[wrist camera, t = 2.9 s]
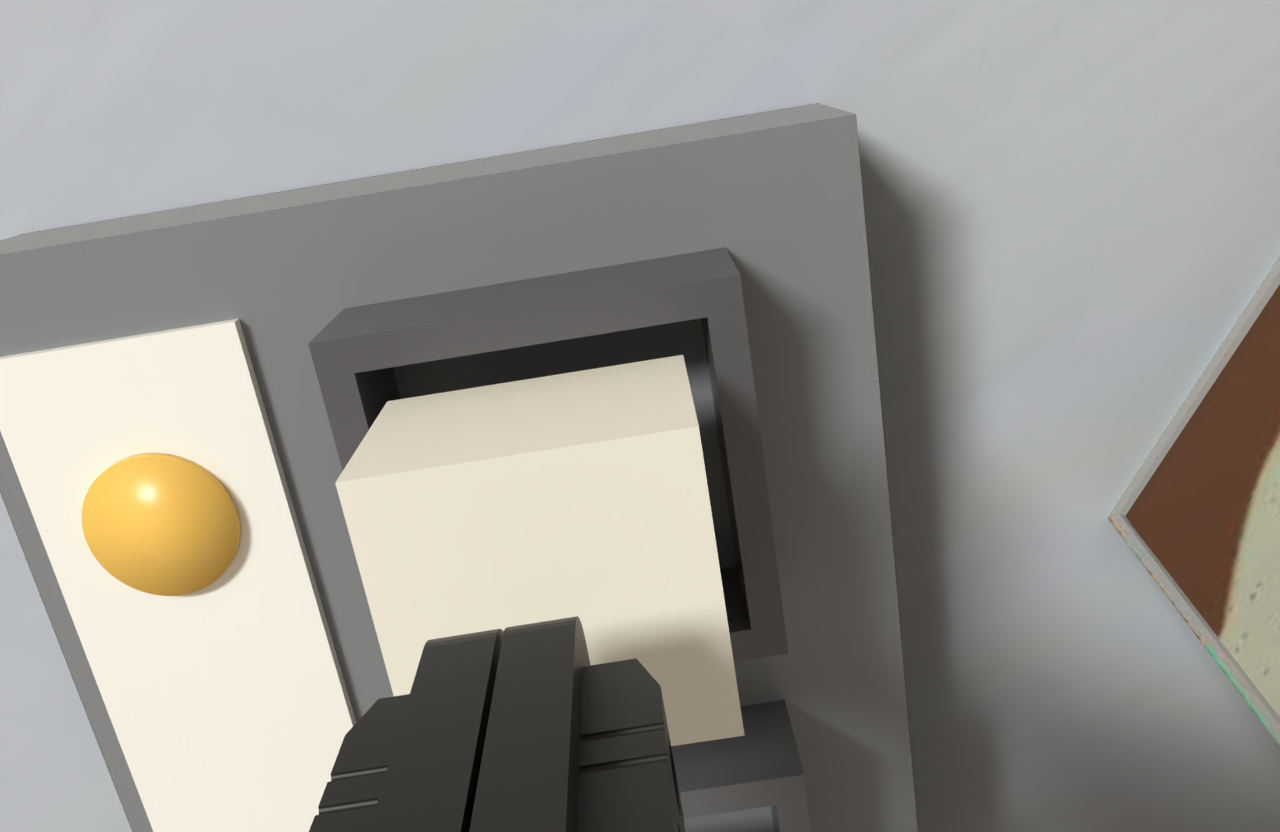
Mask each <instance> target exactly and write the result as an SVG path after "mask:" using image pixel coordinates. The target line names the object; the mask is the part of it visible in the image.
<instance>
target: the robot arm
mask: <svg viewBox="0 0 1280 832" xmlns="http://www.w3.org/2000/svg"><path fill="white" fill-rule="evenodd" d="M318 809H319V815H315V817H314V819H313V822H312V825H311V827H310V830H309V832H685V826H684V816H683V810H682V804H681V798H680V793H679V787H678V782H677V776H676V770H675V765H674V759H673V753H672V748H671V742H670V737H669V731H668V725H667V720H666V714H665V708H664V703H663V697H662V692H661V686H660V685H659V684H658V682H657V681H656V680H655V679H654V678H653V677H652V676H651V674H650V673H649V672H648V671H647V670H646V669H645V668H644V667H643V665H642V664H641V663H640V662H639V661H638V660H637V659H636V658H635V659H629V660H623V661H616V662H610V663H603V664H597V665H590V660H589V655H588V650H587V645H586V640H585V635H584V631H583V627H582V624H581V621H580V619H579V617H578V616H576V617H569V618H563V619H557V620H550V621H544V622H537V623H531V624H525V625H518V626H512V627H506V628H505V630H504V631H503V630H502V629H495V630H488V631H482V632H475V633H469V634H463V635H456V636H450V637H444V638H437V639H431V640H428V641H427V642H426V643H425V645H424V648H423V651H422V655H421V658H420V662H419V665H418V668H417V672H416V675H415V678H414V682H413V685H412V688H411V692H410V694H407V695H400V696H394V697H387V698H381V699H378V700H377V701H376V702H375V703H374V704H373V705H372V707H371V708H370V709H369V710H368V711H367V712H366V713H365V714H364V715H363V716H362V717H361V718H360V720H359V721H358V722H357V723H356V724H355V725H354V726H353V727H352V728H351V729H350V730H349V731H348V733H347V734H346V735H345V737H344V739H343V742H342V745H341V747H340V750H339V753H338V755H337V758H336V761H335V763H334V766H333V769H332V771H331V781H330V782H327V785H326V787H325V790H324V793H323V795H322V798H321V801H320V803H319V806H318Z"/></svg>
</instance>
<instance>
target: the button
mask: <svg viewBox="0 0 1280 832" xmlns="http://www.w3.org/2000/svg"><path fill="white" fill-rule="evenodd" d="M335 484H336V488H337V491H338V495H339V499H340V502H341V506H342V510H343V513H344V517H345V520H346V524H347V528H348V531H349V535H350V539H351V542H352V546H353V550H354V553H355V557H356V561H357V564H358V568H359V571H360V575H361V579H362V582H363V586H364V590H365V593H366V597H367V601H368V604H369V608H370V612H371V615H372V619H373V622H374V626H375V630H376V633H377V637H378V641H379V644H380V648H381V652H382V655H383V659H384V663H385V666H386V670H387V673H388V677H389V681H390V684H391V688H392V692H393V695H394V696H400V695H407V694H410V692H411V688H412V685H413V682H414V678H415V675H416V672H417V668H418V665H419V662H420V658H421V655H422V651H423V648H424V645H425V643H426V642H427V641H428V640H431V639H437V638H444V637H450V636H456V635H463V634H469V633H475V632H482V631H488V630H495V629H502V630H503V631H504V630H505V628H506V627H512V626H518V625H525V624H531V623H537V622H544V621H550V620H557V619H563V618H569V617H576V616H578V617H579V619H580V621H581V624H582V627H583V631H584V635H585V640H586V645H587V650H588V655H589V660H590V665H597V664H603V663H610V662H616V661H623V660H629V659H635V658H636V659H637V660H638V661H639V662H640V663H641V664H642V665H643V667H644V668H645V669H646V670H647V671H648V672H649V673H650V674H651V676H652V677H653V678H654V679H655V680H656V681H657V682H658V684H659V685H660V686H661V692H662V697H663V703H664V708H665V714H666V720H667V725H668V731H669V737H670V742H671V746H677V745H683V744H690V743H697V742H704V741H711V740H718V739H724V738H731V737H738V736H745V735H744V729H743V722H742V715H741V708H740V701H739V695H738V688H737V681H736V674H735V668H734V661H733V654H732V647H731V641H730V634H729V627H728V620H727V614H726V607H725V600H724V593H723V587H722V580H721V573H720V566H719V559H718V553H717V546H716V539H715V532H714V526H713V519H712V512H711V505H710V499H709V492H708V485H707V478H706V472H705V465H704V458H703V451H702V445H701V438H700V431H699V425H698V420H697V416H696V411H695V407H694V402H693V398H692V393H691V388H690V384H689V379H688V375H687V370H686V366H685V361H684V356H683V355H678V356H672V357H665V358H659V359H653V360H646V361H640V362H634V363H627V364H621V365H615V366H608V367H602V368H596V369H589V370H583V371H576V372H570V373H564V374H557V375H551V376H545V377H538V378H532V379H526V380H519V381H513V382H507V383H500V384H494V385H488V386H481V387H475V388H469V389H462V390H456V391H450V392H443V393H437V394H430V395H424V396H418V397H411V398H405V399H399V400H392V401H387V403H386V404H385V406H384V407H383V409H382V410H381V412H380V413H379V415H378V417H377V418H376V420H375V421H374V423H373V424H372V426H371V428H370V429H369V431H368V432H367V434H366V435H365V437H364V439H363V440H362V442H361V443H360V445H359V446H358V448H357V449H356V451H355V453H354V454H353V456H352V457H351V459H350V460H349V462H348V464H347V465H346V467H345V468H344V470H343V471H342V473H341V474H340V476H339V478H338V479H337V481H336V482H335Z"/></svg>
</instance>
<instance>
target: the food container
mask: <svg viewBox="0 0 1280 832" xmlns="http://www.w3.org/2000/svg"><path fill="white" fill-rule="evenodd" d="M1108 518H1109V520H1110V521H1111V522H1112V524H1113V525H1114V526H1115V528H1116V529H1117V530H1118V532H1119V533H1120V534H1121V536H1122V537H1123V538H1124V540H1125V541H1126V542H1127V544H1128V545H1129V546H1130V548H1131V549H1132V550H1133V552H1134V553H1135V554H1136V556H1137V557H1138V558H1139V560H1140V561H1141V562H1142V564H1143V565H1144V566H1145V568H1146V569H1147V570H1148V572H1149V573H1150V574H1151V576H1152V577H1153V578H1154V580H1155V581H1156V582H1157V584H1158V585H1159V586H1160V588H1161V589H1162V590H1163V592H1164V593H1165V594H1166V596H1167V597H1168V598H1169V600H1170V601H1171V602H1172V604H1173V605H1174V606H1175V608H1176V609H1177V610H1178V612H1179V613H1180V614H1181V616H1182V617H1183V618H1184V620H1185V621H1186V622H1187V624H1188V625H1189V626H1190V628H1191V629H1192V630H1193V632H1194V633H1195V634H1196V636H1197V637H1198V638H1199V640H1200V641H1201V642H1202V644H1203V645H1204V646H1205V648H1206V649H1207V650H1208V652H1209V653H1210V654H1211V656H1212V657H1213V658H1214V660H1215V661H1216V662H1217V664H1218V665H1219V666H1220V668H1221V669H1222V670H1223V672H1224V673H1225V674H1226V676H1227V677H1228V678H1229V680H1230V681H1231V682H1232V684H1233V685H1234V686H1235V688H1236V689H1237V690H1238V692H1239V693H1240V694H1241V696H1242V697H1243V698H1244V700H1245V701H1246V702H1247V704H1248V705H1249V706H1250V708H1251V709H1252V710H1253V712H1254V713H1255V714H1256V716H1257V717H1258V718H1259V720H1260V721H1261V722H1262V724H1263V725H1264V726H1265V728H1266V729H1267V730H1268V732H1269V733H1270V734H1271V736H1272V737H1273V738H1274V740H1275V741H1276V742H1277V744H1278V745H1279V746H1280V258H1279V259H1278V261H1277V263H1276V264H1275V266H1274V267H1273V269H1272V270H1271V272H1270V273H1269V275H1268V276H1267V278H1266V279H1265V281H1264V282H1263V284H1262V285H1261V287H1260V288H1259V290H1258V291H1257V293H1256V294H1255V296H1254V297H1253V299H1252V300H1251V302H1250V303H1249V305H1248V306H1247V308H1246V309H1245V311H1244V312H1243V314H1242V316H1241V317H1240V319H1239V320H1238V322H1237V323H1236V325H1235V326H1234V328H1233V329H1232V331H1231V332H1230V334H1229V335H1228V337H1227V338H1226V340H1225V341H1224V343H1223V344H1222V346H1221V347H1220V349H1219V350H1218V352H1217V353H1216V355H1215V356H1214V358H1213V359H1212V361H1211V362H1210V364H1209V365H1208V367H1207V368H1206V370H1205V372H1204V373H1203V375H1202V376H1201V378H1200V379H1199V381H1198V382H1197V384H1196V385H1195V387H1194V388H1193V390H1192V391H1191V393H1190V394H1189V396H1188V397H1187V399H1186V400H1185V402H1184V403H1183V405H1182V406H1181V408H1180V409H1179V411H1178V412H1177V414H1176V415H1175V417H1174V418H1173V420H1172V421H1171V423H1170V425H1169V426H1168V428H1167V429H1166V431H1165V432H1164V434H1163V435H1162V437H1161V438H1160V440H1159V441H1158V443H1157V444H1156V446H1155V447H1154V449H1153V450H1152V452H1151V453H1150V455H1149V456H1148V458H1147V459H1146V461H1145V462H1144V464H1143V465H1142V467H1141V468H1140V470H1139V471H1138V473H1137V474H1136V476H1135V477H1134V479H1133V481H1132V482H1131V484H1130V485H1129V487H1128V488H1127V490H1126V491H1125V493H1124V494H1123V496H1122V497H1121V499H1120V500H1119V502H1118V503H1117V505H1116V506H1115V508H1114V509H1113V511H1112V512H1111V514H1110V515H1109V517H1108Z"/></svg>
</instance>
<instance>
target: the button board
mask: <svg viewBox="0 0 1280 832" xmlns="http://www.w3.org/2000/svg"><path fill="white" fill-rule="evenodd" d="M678 355H683V356H684V361H685V366H686V370H687V375H688V379H689V384H690V388H691V393H692V398H693V402H694V407H695V411H696V416H697V420H698V425H699V431H700V438H701V445H702V451H703V458H704V465H705V472H706V478H707V485H708V492H709V499H710V505H711V512H712V519H713V526H714V532H715V539H716V546H717V553H718V559H719V566H720V573H721V580H722V587H723V593H724V600H725V607H726V614H727V620H728V627H729V634H730V641H731V647H732V654H733V661H734V668H735V674H736V681H737V688H738V695H739V701H740V708H741V715H742V722H743V729H744V735H745V736H738V737H731V738H724V739H718V740H711V741H704V742H697V743H690V744H683V745H677V746H671V748H672V753H673V759H674V765H675V770H676V776H677V782H678V787H679V793H680V798H681V804H682V810H683V816H684V826H685V832H918V827H917V816H916V804H915V793H914V781H913V770H912V758H911V746H910V735H909V723H908V712H907V700H906V689H905V677H904V665H903V654H902V642H901V631H900V619H899V608H898V596H897V584H896V573H895V561H894V550H893V538H892V527H891V515H890V503H889V492H888V480H887V469H886V457H885V446H884V434H883V422H882V411H881V399H880V388H879V376H878V365H877V353H876V341H875V330H874V318H873V307H872V295H871V284H870V272H869V260H868V249H867V237H866V226H865V214H864V203H863V191H862V179H861V168H860V156H859V145H858V133H857V122H856V114H853V113H850V112H846V111H843V110H839V109H836V108H832V107H829V106H825V105H822V104H812V105H806V106H799V107H793V108H787V109H781V110H775V111H769V112H763V113H757V114H751V115H745V116H739V117H732V118H726V119H720V120H714V121H708V122H702V123H696V124H690V125H684V126H678V127H672V128H666V129H659V130H653V131H647V132H641V133H635V134H629V135H623V136H617V137H611V138H605V139H599V140H592V141H586V142H580V143H574V144H568V145H562V146H556V147H550V148H544V149H538V150H532V151H525V152H519V153H513V154H507V155H501V156H495V157H489V158H483V159H477V160H471V161H465V162H459V163H452V164H446V165H440V166H434V167H428V168H422V169H416V170H410V171H404V172H398V173H392V174H385V175H379V176H373V177H367V178H361V179H355V180H349V181H343V182H337V183H331V184H325V185H318V186H312V187H306V188H300V189H294V190H288V191H282V192H276V193H270V194H264V195H258V196H252V197H245V198H239V199H233V200H227V201H221V202H215V203H209V204H203V205H197V206H191V207H185V208H178V209H172V210H166V211H160V212H154V213H148V214H142V215H136V216H130V217H124V218H118V219H111V220H105V221H99V222H93V223H87V224H81V225H75V226H69V227H63V228H57V229H51V230H45V231H38V232H32V233H26V234H20V235H17V236H14V237H11V238H8V239H5V240H1V241H0V494H1V496H2V499H3V501H4V504H5V506H6V509H7V512H8V514H9V517H10V519H11V522H12V524H13V527H14V530H15V532H16V535H17V537H18V540H19V542H20V545H21V547H22V550H23V553H24V555H25V558H26V560H27V563H28V565H29V568H30V571H31V573H32V576H33V578H34V581H35V583H36V586H37V588H38V591H39V594H40V596H41V599H42V601H43V604H44V606H45V609H46V612H47V614H48V617H49V619H50V622H51V624H52V627H53V630H54V632H55V635H56V637H57V640H58V642H59V645H60V647H61V650H62V653H63V655H64V658H65V660H66V663H67V665H68V668H69V671H70V673H71V676H72V678H73V681H74V683H75V686H76V689H77V691H78V694H79V696H80V699H81V701H82V704H83V706H84V709H85V712H86V714H87V717H88V719H89V722H90V724H91V727H92V730H93V732H94V735H95V737H96V740H97V742H98V745H99V748H100V750H101V753H102V755H103V758H104V760H105V763H106V765H107V768H108V771H109V773H110V776H111V778H112V781H113V783H114V786H115V789H116V791H117V794H118V796H119V799H120V801H121V804H122V806H123V809H124V812H125V814H126V817H127V819H128V822H129V824H130V827H131V830H132V832H309V830H310V827H311V825H312V822H313V819H314V817H315V815H319V809H318V806H319V803H320V801H321V798H322V795H323V793H324V790H325V787H326V785H327V782H330V781H331V771H332V769H333V766H334V763H335V761H336V758H337V755H338V753H339V750H340V747H341V745H342V742H343V739H344V737H345V735H346V734H347V733H348V731H349V730H350V729H351V728H352V727H353V726H354V725H355V724H356V723H357V722H358V721H359V720H360V718H361V717H362V716H363V715H364V714H365V713H366V712H367V711H368V710H369V709H370V708H371V707H372V705H373V704H374V703H375V702H376V701H377V700H378V699H381V698H387V697H394V695H393V692H392V688H391V684H390V681H389V677H388V673H387V670H386V666H385V663H384V659H383V655H382V652H381V648H380V644H379V641H378V637H377V633H376V630H375V626H374V622H373V619H372V615H371V612H370V608H369V604H368V601H367V597H366V593H365V590H364V586H363V582H362V579H361V575H360V571H359V568H358V564H357V561H356V557H355V553H354V550H353V546H352V542H351V539H350V535H349V531H348V528H347V524H346V520H345V517H344V513H343V510H342V506H341V502H340V499H339V495H338V491H337V488H336V484H335V482H336V481H337V479H338V478H339V476H340V474H341V473H342V471H343V470H344V468H345V467H346V465H347V464H348V462H349V460H350V459H351V457H352V456H353V454H354V453H355V451H356V449H357V448H358V446H359V445H360V443H361V442H362V440H363V439H364V437H365V435H366V434H367V432H368V431H369V429H370V428H371V426H372V424H373V423H374V421H375V420H376V418H377V417H378V415H379V413H380V412H381V410H382V409H383V407H384V406H385V404H386V403H387V401H392V400H399V399H405V398H411V397H418V396H424V395H430V394H437V393H443V392H450V391H456V390H462V389H469V388H475V387H481V386H488V385H494V384H500V383H507V382H513V381H519V380H526V379H532V378H538V377H545V376H551V375H557V374H564V373H570V372H576V371H583V370H589V369H596V368H602V367H608V366H615V365H621V364H627V363H634V362H640V361H646V360H653V359H659V358H665V357H672V356H678Z"/></svg>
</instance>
